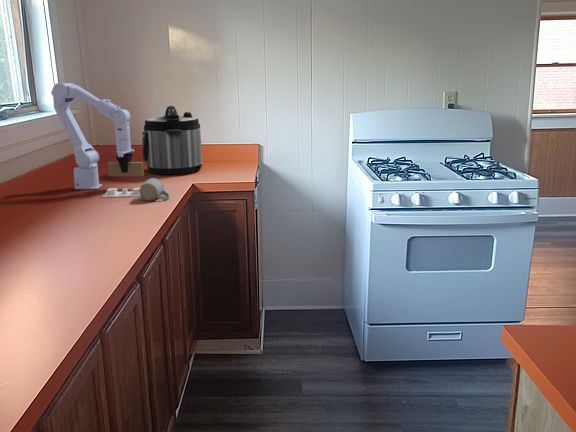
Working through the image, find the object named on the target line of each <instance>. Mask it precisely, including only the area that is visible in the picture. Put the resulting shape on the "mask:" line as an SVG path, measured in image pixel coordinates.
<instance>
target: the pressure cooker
mask: <svg viewBox="0 0 576 432" xmlns="http://www.w3.org/2000/svg"><path fill="white" fill-rule="evenodd" d="M199 121H200V120H199V118H195V117H193V115H192V113H191V112H190V111H185V112H184V113H183V115H182V116H180V115H179V114H178V112H177V109H176V107H175V106H173V105H169V106H167V107H166V109H165V113H164V115H163V116H159V117H153V118H147V119H145V120H144V125H143V131H142V132H141V134H142V137H141V138H142V143H141V144H142V159H143V161H144V162H146V168H147V170H148V172H150V173H152V174H158V175H175V174H188V173H189V174H190V173H194V172H197V171H201V169H202V166H203V151H202V134H201V133H202V131H201V124H200V123H199Z"/></svg>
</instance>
